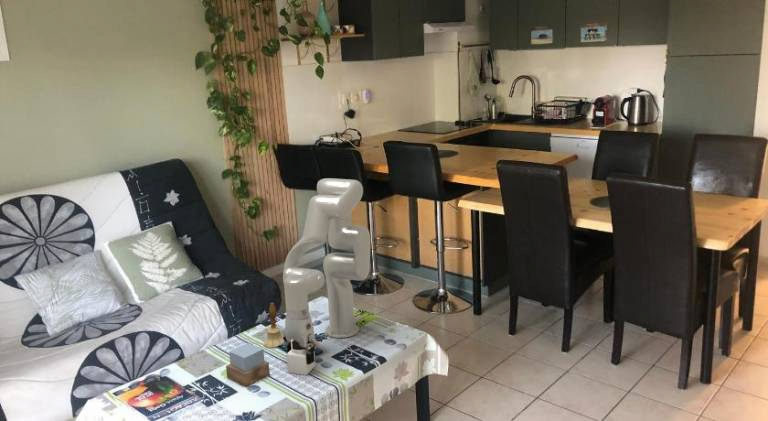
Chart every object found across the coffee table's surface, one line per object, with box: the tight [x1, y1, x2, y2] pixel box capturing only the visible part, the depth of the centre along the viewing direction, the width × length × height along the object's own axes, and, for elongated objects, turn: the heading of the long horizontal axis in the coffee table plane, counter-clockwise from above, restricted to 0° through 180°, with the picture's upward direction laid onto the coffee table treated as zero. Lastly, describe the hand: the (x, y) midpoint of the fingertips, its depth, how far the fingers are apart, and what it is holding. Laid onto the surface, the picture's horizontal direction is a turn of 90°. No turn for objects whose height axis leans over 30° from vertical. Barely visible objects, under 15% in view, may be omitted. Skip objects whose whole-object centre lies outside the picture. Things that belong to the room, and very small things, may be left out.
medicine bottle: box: [286, 340, 316, 376], centre depth 223 cm, size 7×7×12 cm
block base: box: [225, 360, 271, 388], centre depth 221 cm, size 10×10×5 cm
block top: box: [228, 342, 265, 372], centre depth 220 cm, size 8×8×5 cm
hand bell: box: [263, 302, 284, 349], centre depth 243 cm, size 8×8×16 cm
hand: (300, 359), depth 224 cm, fingers closed on medicine bottle, 8 cm apart
